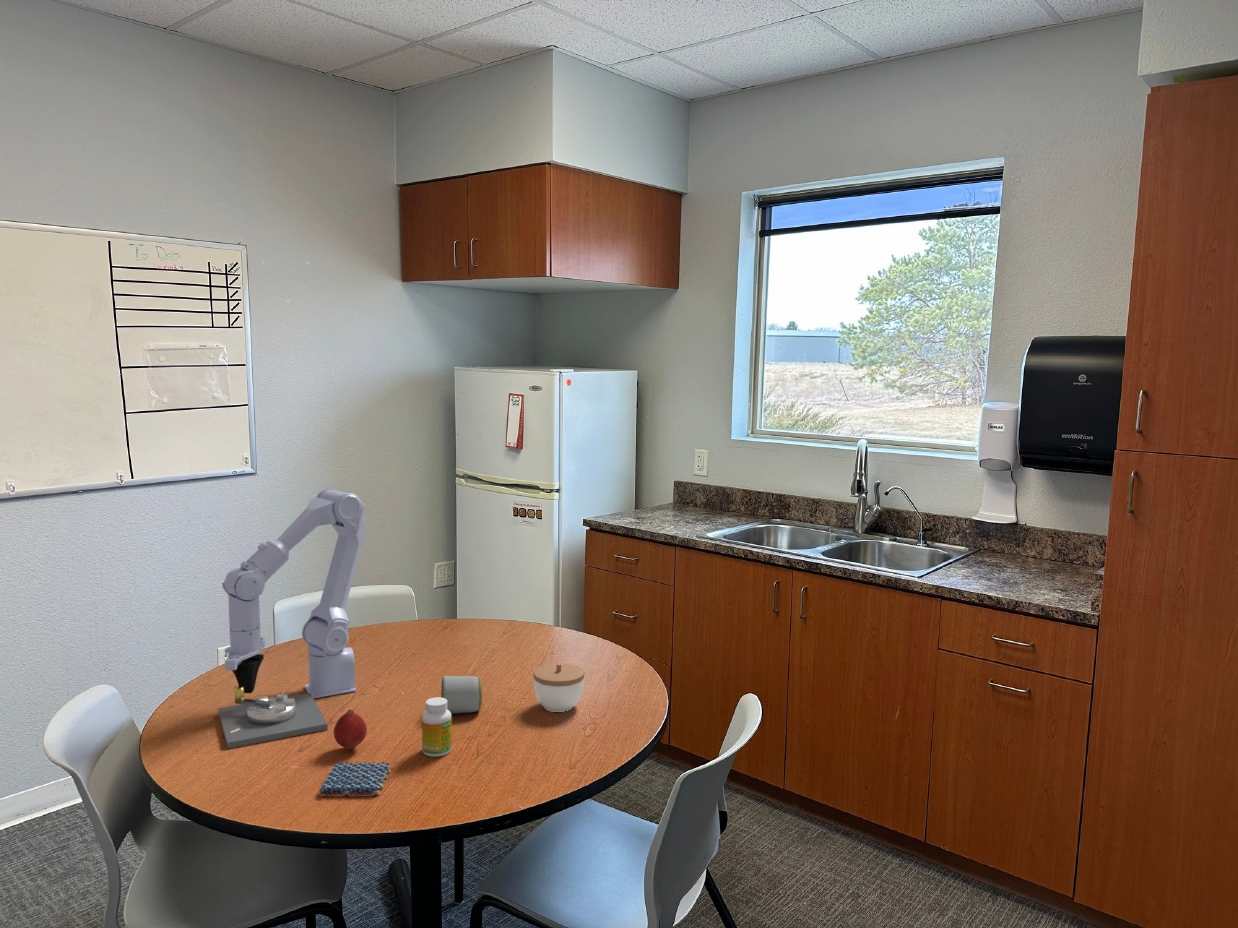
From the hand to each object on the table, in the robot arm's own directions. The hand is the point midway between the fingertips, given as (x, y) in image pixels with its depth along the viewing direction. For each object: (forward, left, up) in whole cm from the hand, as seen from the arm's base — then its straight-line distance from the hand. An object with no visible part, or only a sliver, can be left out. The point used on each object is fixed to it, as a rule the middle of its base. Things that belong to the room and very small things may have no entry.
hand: (247, 691), depth 178 cm
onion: (-15, +27, -5) cm, 31 cm away
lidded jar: (-58, +27, -5) cm, 64 cm away
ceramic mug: (-39, +18, -5) cm, 43 cm away
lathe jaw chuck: (-2, +6, -3) cm, 7 cm away
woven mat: (-13, +40, -5) cm, 42 cm away
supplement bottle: (-29, +35, -5) cm, 45 cm away
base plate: (-4, +7, -4) cm, 9 cm away
